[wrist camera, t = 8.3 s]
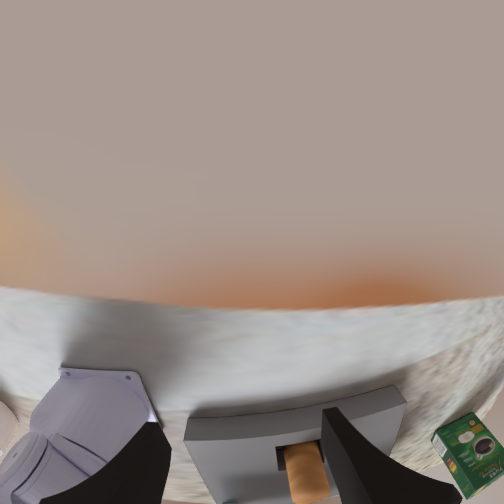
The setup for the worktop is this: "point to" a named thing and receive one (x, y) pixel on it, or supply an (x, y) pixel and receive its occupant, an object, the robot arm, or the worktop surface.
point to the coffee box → (470, 454)
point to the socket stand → (280, 444)
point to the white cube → (6, 426)
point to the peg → (306, 472)
